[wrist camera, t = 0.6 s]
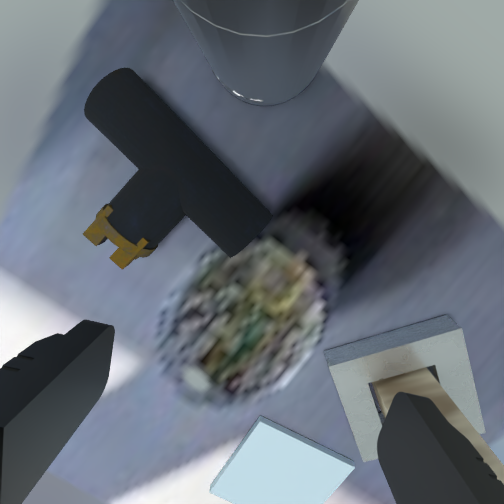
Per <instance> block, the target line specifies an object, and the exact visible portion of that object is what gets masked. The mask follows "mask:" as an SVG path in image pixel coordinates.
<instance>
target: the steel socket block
mask: <svg viewBox="0 0 504 504" xmlns="http://www.w3.org/2000/svg"><path fill="white" fill-rule="evenodd" d="M324 353H325V356H326V360H327V363H328V366H329V369H330V372H331V374H332V377H333V380H334V383H335V385H336V388H337V391H338V393H339V396H340V399H341V402H342V404H343V407H344V410H345V413H346V415H347V418H348V421H349V424H350V426H351V429H352V432H353V435H354V437H355V440H356V443H357V445H358V448H359V451H360V454H361V456H362V459H363V462H366V461H370V460H375V459H378V454H377V440H378V436H379V433H380V430H381V428H382V425H383V423H384V420H385V417H384V415H383V413H382V412H380V413H378V412H377V409H376V406H375V403H374V400H373V397H372V394H371V391H370V388H369V385H368V383H371V382H374V381H378V380H382V379H385V378H389V377H392V376H396V375H400V374H403V373H407V372H410V371H414V370H418V369H421V368H425V367H427V369H428V370H429V371H430V373H431V374H432V375H433V376H434V378H435V379H436V380H437V381H438V383H439V384H440V385H441V386H442V388H443V389H444V390H445V392H446V393H447V394H448V395H449V397H450V398H451V399H452V400H453V402H454V403H455V404H456V406H457V407H458V408H459V409H460V411H461V412H462V413H463V414H464V416H465V417H466V418H467V419H468V421H469V422H470V423H471V425H472V426H473V427H474V428H475V430H476V431H477V432H478V433H479V434H482V433H486V432H485V428H484V423H483V419H482V415H481V410H480V406H479V401H478V397H477V393H476V388H475V384H474V379H473V375H472V371H471V366H470V362H469V357H468V353H467V349H466V344H465V340H464V335H463V331H462V328H461V327H460V326H459V325H457V324H456V323H455V322H454V321H453V320H452V319H450V318H449V317H448V316H447V315H443V316H440V317H436V318H433V319H430V320H426V321H423V322H420V323H416V324H413V325H410V326H406V327H403V328H399V329H396V330H393V331H389V332H386V333H383V334H379V335H376V336H373V337H369V338H366V339H363V340H359V341H356V342H352V343H349V344H346V345H342V346H339V347H336V348H332V349H329V350H326V351H324Z"/></svg>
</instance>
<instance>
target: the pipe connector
mask: <svg viewBox="0 0 504 504" xmlns="http://www.w3.org/2000/svg"><path fill="white" fill-rule="evenodd" d="M84 112H85V116H86V118H87V119H88V120H89V121H90V122H91V123H92V124H93V125H94V126H95V127H96V128H97V129H98V130H99V131H100V132H101V133H102V134H103V135H105V136H106V137H107V138H108V139H109V140H110V141H111V142H112V143H113V144H114V145H115V146H116V147H117V148H118V149H119V150H120V151H121V152H122V153H123V154H124V155H125V156H126V157H127V158H128V159H129V160H130V161H131V162H132V163H133V164H134V165H135V166H136V167H137V168H138V169H139V170H138V171H137V172H136V173H135V175H134V176H133V177H132V178H131V179H130V180H129V181H128V182H127V184H126V185H125V186H124V187H123V188H122V189H121V190H120V192H119V193H118V194H117V195H116V196H115V197H114V198H113V200H112V201H111V202H110V203H109V204H106V205H104V207H103V208H102V209H101V210H100V211H99V212H98V213H97V215H96V219H95V221H94V222H93V223H92V224H91V225H90V226H89V227H88V229H87V230H86V231H85V232H84V233H83V235H84V236H85V237H86V238H87V239H88V240H90V241H91V242H92V243H93V244H94V245H95V246H97V245H100V244H102V243H104V242H105V241H106V240H107V239H109V240H110V241H111V242H112V243H114V244H115V245H116V246H117V247H119V248H118V249H117V250H116V251H115V252H114V253H113V254H112V255H111V257H110V259H111V260H112V261H113V262H114V263H115V264H117V265H118V266H119V267H120V268H121V269H124V268H125V267H126V266H128V265H129V264H130V263H131V262H132V261H133V260H134V259H135V260H136V259H137V258H139V257H147V256H149V255H150V254H151V253H152V252H153V251H154V250H155V249H156V248H157V247H158V243H159V242H160V241H161V240H162V239H163V238H164V237H165V236H166V235H167V234H168V233H169V232H170V231H171V230H172V229H173V228H174V227H175V226H176V225H177V224H178V223H179V222H180V221H181V219H182V218H183V217H184V216H185V215H187V216H188V217H189V218H190V219H191V220H192V221H193V222H194V223H195V224H196V225H197V226H198V227H199V228H200V229H201V230H202V231H203V232H204V233H205V234H206V235H207V236H208V237H210V238H211V239H212V240H213V241H214V242H215V243H216V244H217V245H218V246H219V247H220V248H221V249H222V250H223V251H224V252H225V253H226V254H227V255H228V256H229V257H230V258H231V257H233V256H235V255H236V254H238V253H239V252H240V251H241V250H243V249H244V248H245V247H246V246H247V245H248V244H249V243H250V242H251V241H252V240H253V239H254V238H255V237H256V236H257V235H258V234H259V233H260V232H261V231H262V230H263V229H264V228H265V226H266V225H267V224H268V223H269V221H270V220H271V218H272V216H273V215H272V214H271V213H270V212H269V211H268V210H267V209H266V208H265V207H264V206H263V205H262V204H261V203H260V202H259V201H258V200H257V198H256V197H255V196H254V195H253V194H252V193H251V192H250V191H249V190H248V189H247V188H246V187H245V186H244V185H243V184H242V183H241V182H240V181H239V180H238V179H237V178H236V177H235V176H234V175H233V174H232V173H231V172H230V170H229V169H228V168H227V167H226V166H225V165H224V164H223V163H222V162H221V161H220V160H219V159H218V158H217V157H216V156H215V155H214V154H213V153H212V152H211V151H210V150H209V149H208V148H207V147H206V146H205V145H204V143H203V142H202V141H201V140H200V139H199V138H198V137H197V136H196V135H195V134H194V133H193V132H192V131H191V130H190V129H189V128H188V127H187V126H186V125H185V124H184V123H183V122H182V121H181V120H180V119H179V118H178V117H177V115H176V114H175V113H174V112H173V111H172V110H171V109H170V108H169V107H168V106H167V105H166V104H165V103H164V102H163V101H162V100H161V99H160V98H159V97H158V96H157V95H156V94H155V93H154V92H153V91H152V90H151V89H150V87H149V86H148V85H147V84H146V83H145V82H144V81H143V80H142V79H141V78H140V77H139V76H138V75H137V74H136V73H135V72H134V71H133V70H132V69H130V68H121V69H118V70H115V71H113V72H111V73H110V74H108V75H107V76H105V77H104V78H103V79H102V80H101V81H100V82H99V83H98V84H97V85H96V86H95V87H94V88H93V90H92V91H91V93H90V95H89V96H88V98H87V101H86V104H85V109H84Z"/></svg>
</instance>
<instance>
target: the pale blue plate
mask: <svg viewBox="0 0 504 504" xmlns="http://www.w3.org/2000/svg"><path fill="white" fill-rule="evenodd" d="M354 468H355V466H354V462H353V461H352V460H350V459H348V458H346V457H344V456H342V455H340V454H338V453H336V452H334V451H332V450H330V449H328V448H326V447H324V446H322V445H320V444H318V443H315V442H313V441H311V440H309V439H307V438H305V437H303V436H301V435H299V434H297V433H295V432H293V431H291V430H289V429H287V428H285V427H283V426H281V425H279V424H277V423H275V422H272V421H270V420H268V419H266V418H264V417H262V416H259V418H258V419H257V421H256V422H255V423H254V425H253V426H252V428H251V429H250V431H249V432H248V433H247V435H246V436H245V438H244V439H243V440H242V442H241V443H240V445H239V446H238V448H237V449H236V450H235V452H234V453H233V455H232V456H231V457H230V459H229V460H228V462H227V463H226V464H225V466H224V467H223V469H222V470H221V472H220V473H219V474H218V476H217V477H216V479H215V480H214V481H213V483H212V484H211V486H210V491H209V493H211V494H214V495H216V496H218V497H220V498H223V499H225V500H227V501H229V502H231V503H234V504H323V503H324V502H325V501H326V500H327V499H328V498H329V497H330V495H331V494H332V493H333V492H334V491H335V490H336V489H337V488H338V486H339V485H340V484H341V483H342V482H343V481H344V480H345V478H346V477H347V476H348V475H349V474H350V473H351V472H352V471H353V469H354Z"/></svg>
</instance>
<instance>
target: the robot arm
mask: <svg viewBox="0 0 504 504" xmlns="http://www.w3.org/2000/svg"><path fill="white" fill-rule="evenodd" d="M173 2H174V3H175V5H176V7H177V9H178V10H179V12H180V14H181V16H182V17H183V19H184V21H185V23H186V24H187V26H188V28H189V30H190V31H191V33H192V35H193V37H194V38H195V40H196V42H197V44H198V45H199V47H200V49H201V51H202V52H203V54H204V56H205V58H206V59H207V61H208V63H209V65H210V66H211V68H212V71H213V73H214V74H215V76H216V77H217V79H218V80H219V81H220V83H221V84H222V85H223V86H224V87H225V88H226V90H227V91H229V92H230V93H231V94H232V95H234V96H235V97H236V98H238V99H240V100H242V101H244V102H247V103H249V104H254V105H259V106H271V105H276V104H280V103H284V102H286V101H288V100H290V99H292V98H294V97H296V96H297V95H298V94H299V93H301V92H302V91H303V90H304V89H305V88H306V87H307V86H308V85H309V84H310V82H311V81H312V80H313V79H314V77H315V76H316V74H317V72H318V70H319V69H320V67H321V65H322V63H323V62H324V60H325V58H326V57H327V55H328V53H329V52H330V50H331V48H332V46H333V44H334V43H335V41H336V39H337V37H338V36H339V34H340V32H341V30H342V28H343V27H344V25H345V23H346V22H347V20H348V18H349V16H350V15H351V13H352V11H353V9H354V7H355V6H356V4H357V2H358V0H173ZM114 334H115V330H114V327H113V326H112V325H108V324H103V323H99V322H94V321H90V320H83V321H81V322H80V323H79V324H77V325H76V326H75V327H74V328H72V329H71V330H70V331H69V332H67V333H66V334H65V335H63V334H58V333H57V334H54V335H52V336H49V337H47V338H44V339H41V340H39V341H36V342H34V343H33V344H32V345H30V346H29V347H27V348H26V349H25V350H23V351H22V352H21V353H19V354H18V356H17V357H14V358H12V359H11V360H9V361H8V362H7V363H5V364H4V365H3V366H2V368H1V369H0V504H22V502H23V501H24V500H25V498H26V497H27V496H28V494H29V493H30V492H31V490H32V489H33V487H34V486H35V485H36V483H37V482H38V481H39V479H40V478H41V477H42V475H43V474H44V473H45V471H46V470H47V469H48V467H49V466H50V465H51V463H52V462H53V461H54V459H55V458H56V456H57V455H58V454H59V452H60V451H61V450H62V448H63V447H64V446H65V444H66V443H67V442H68V440H69V439H70V438H71V436H72V435H73V433H74V432H75V431H76V429H77V428H78V427H79V425H80V424H81V423H82V421H83V420H84V419H85V417H86V416H87V415H88V413H89V412H90V411H91V409H92V408H93V406H94V405H95V404H96V402H97V401H98V400H99V398H100V397H101V395H102V393H103V391H104V389H105V386H106V383H107V380H108V377H109V371H110V363H111V356H112V349H113V342H114ZM377 454H378V459H379V462H380V465H381V467H382V470H383V472H384V475H385V477H386V479H387V482H388V484H389V487H390V489H391V491H392V494H393V496H394V499H395V501H396V504H504V484H503V483H502V482H501V480H498V479H497V475H496V474H495V473H494V471H493V470H492V469H491V468H490V466H489V465H488V464H487V463H485V462H484V461H483V460H484V459H483V457H482V456H481V455H480V454H479V452H478V451H477V450H476V449H475V447H474V446H473V445H472V444H471V442H470V441H469V440H468V439H467V438H466V437H465V436H464V435H463V434H461V433H460V432H459V431H458V430H457V429H456V428H455V427H454V426H452V425H451V424H450V423H449V422H448V421H447V419H446V418H445V417H444V416H443V414H442V413H441V412H440V410H439V409H438V408H437V406H436V405H435V404H434V402H433V401H432V400H431V399H429V398H427V397H423V396H419V395H414V394H410V393H405V392H398V393H397V394H396V395H395V396H394V398H393V400H392V403H391V405H390V408H389V410H388V413H387V415H386V418H385V420H384V423H383V425H382V428H381V430H380V433H379V436H378V440H377Z"/></svg>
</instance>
